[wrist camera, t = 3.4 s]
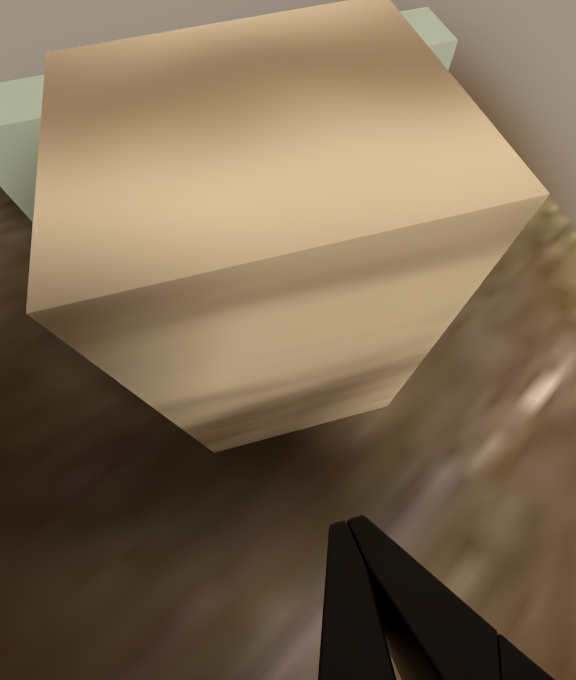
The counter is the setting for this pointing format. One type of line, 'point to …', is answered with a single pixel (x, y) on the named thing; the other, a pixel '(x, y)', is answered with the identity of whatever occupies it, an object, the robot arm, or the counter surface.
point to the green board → (26, 105)
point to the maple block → (265, 214)
